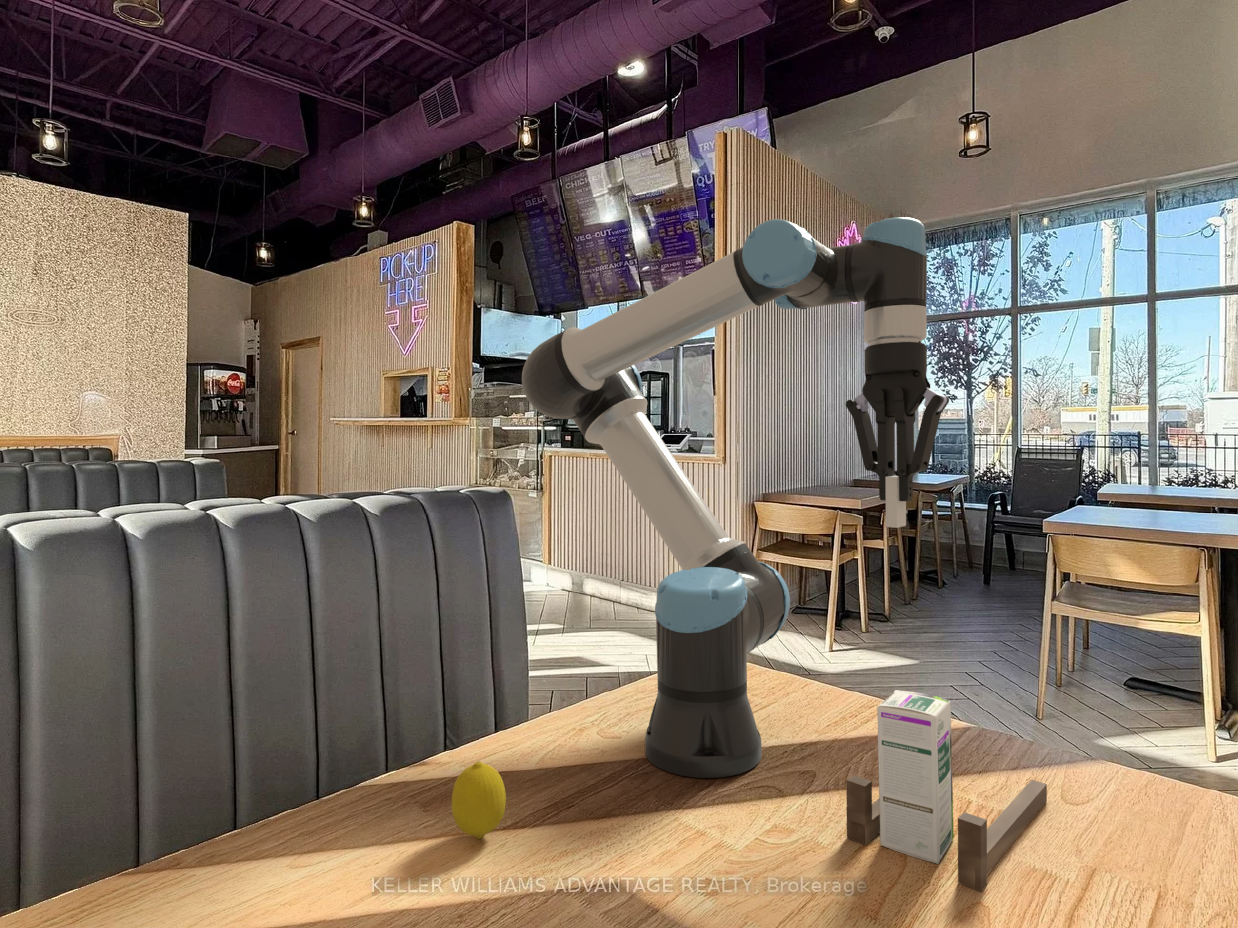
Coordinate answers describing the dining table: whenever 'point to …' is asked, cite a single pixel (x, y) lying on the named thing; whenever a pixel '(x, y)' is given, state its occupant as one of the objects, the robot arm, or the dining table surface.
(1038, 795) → the brown wooden rack
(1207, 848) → the dining table surface
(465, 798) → the lemon
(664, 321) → the robot arm
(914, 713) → the syrup box
